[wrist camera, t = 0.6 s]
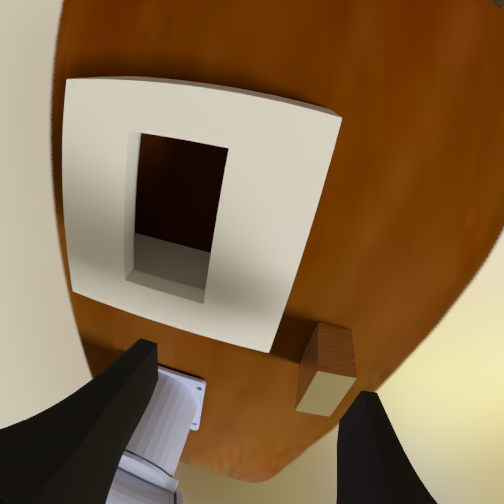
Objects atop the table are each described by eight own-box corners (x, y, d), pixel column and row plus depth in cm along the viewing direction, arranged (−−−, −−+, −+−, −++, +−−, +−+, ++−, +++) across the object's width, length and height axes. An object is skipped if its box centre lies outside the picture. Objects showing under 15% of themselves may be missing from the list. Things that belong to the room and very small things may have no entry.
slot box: (280, 285, 20) (268, 353, 15) (122, 242, 21) (72, 291, 16) (329, 109, 15) (342, 117, 10) (134, 76, 15) (66, 79, 10)
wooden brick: (329, 369, 24) (329, 416, 20) (299, 363, 24) (295, 410, 20) (351, 329, 21) (356, 378, 17) (318, 321, 21) (317, 370, 17)
